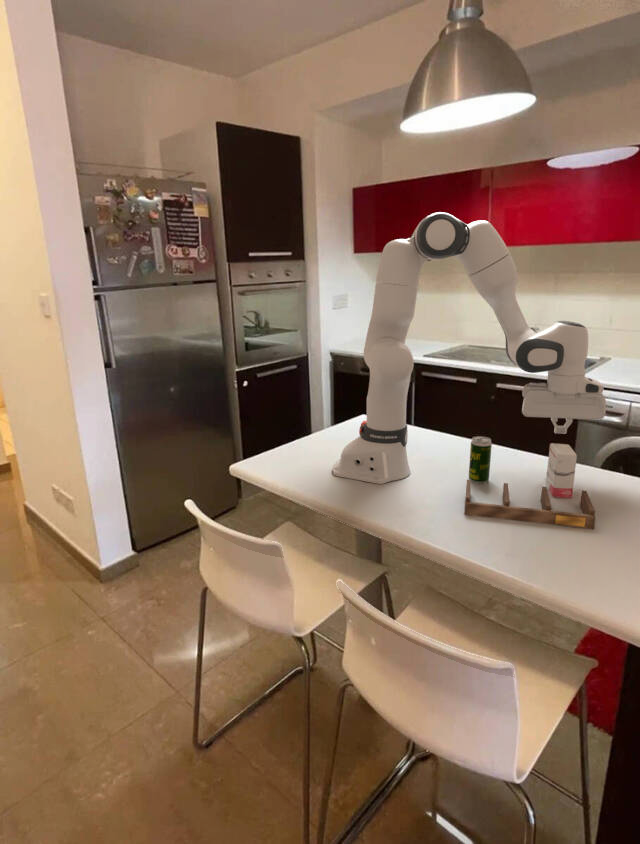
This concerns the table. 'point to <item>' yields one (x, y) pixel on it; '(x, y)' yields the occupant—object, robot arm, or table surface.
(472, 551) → the table surface
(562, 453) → the ink box
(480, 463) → the beer can
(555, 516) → the rack
